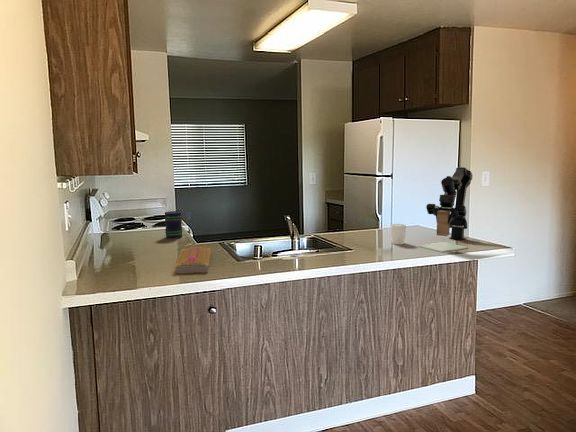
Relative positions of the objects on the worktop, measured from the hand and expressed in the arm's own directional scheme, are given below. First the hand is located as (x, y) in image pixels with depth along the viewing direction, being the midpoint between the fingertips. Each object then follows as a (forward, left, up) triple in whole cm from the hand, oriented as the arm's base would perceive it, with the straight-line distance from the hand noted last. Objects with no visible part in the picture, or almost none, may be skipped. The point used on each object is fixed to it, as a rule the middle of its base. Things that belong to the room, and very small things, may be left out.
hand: (442, 223), depth 231 cm
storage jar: (+106, -107, -14) cm, 151 cm away
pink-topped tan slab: (+115, -37, -14) cm, 122 cm away
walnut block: (-1, -1, -6) cm, 6 cm away
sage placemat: (-5, -4, -13) cm, 15 cm away
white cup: (+7, -24, -14) cm, 28 cm away
